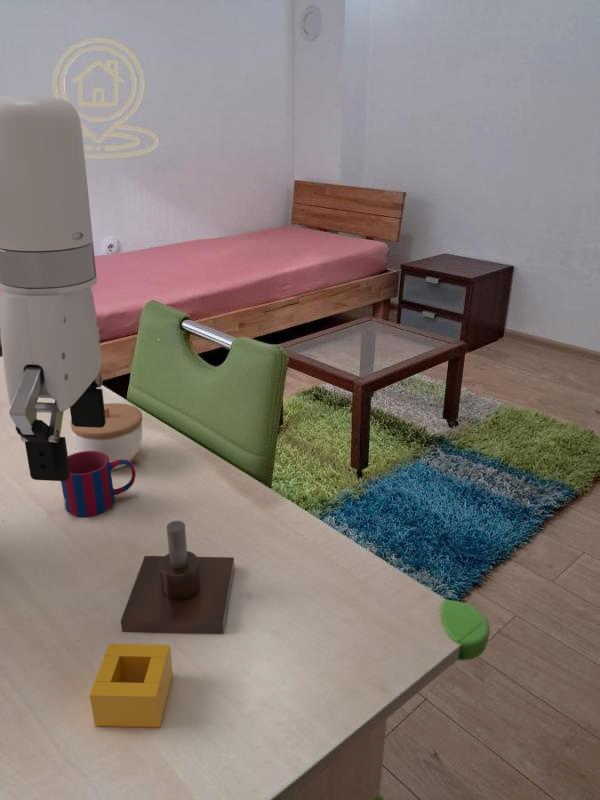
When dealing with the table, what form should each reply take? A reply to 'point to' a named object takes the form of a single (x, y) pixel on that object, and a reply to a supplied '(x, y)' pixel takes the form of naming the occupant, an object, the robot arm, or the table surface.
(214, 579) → the stand
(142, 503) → the table surface
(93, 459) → the mug
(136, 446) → the trinket box
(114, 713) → the yellow block
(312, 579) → the table surface
